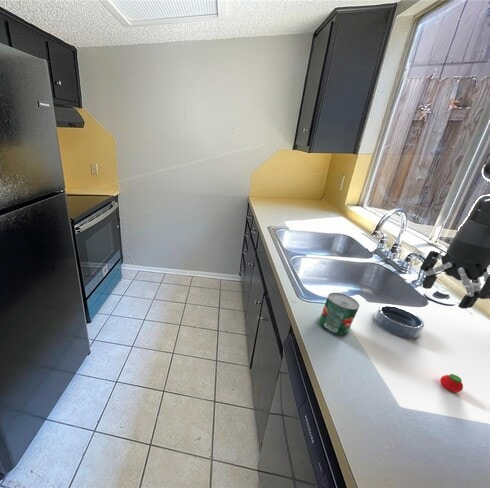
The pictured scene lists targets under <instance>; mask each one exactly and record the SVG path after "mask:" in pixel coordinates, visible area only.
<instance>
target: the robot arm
mask: <svg viewBox="0 0 490 488" xmlns="http://www.w3.org/2000/svg"><path fill="white" fill-rule="evenodd" d="M481 174H482V176H483V178H484V179H485V180H487V182H488V181H489V182H490V158H489V159H488V160H487V161H486V162H485V164H484V165H483V167H482V170H481ZM439 261H441V265H438V266H436V264H437V263H438V262H439ZM435 266H436V267H435ZM489 266H490V194H485V195H482V196H480V197H479V198H478V199H477V200H476V201H475V203H474V204H473V206H472V207H471V209H470V211H469V213H468V215H467V216H466V218H465V219H464V221H463V223H462V224H461V225H460V226H459V227H458V230H457V231H456V232H455V235H454V236H453V238H452V240H451V242H450V244H449V245H448V247H447V250H446V253H445V254H444V253H443V251H442V250H430V251H429V252H428V254H427V256H426V257H425V258H424V260H423V262H422V264H421V265H420V270H421V271H423V272H425V276H424V278H423V281H422V282H421V285H422V287H421V288H423V289H425V290H431V289H432V287H433V286H434V285H435V282H436V281H437V279H438V276H439V275H443V274H445V275H446V276H449V277H452V278H454V279H455V280H457V281H459V282H461V284H462V286H463V287H464V288H465V292H466V294H464V296H463V297H462V299H461V301H460V302H459V304H458V305H457V306H458V308H460V309H464V310H465V309H471V308H473V307H474V305H475V304H476V303H477V301H478V300H479V299H480V300H490V272H488V267H489ZM482 277H483V281H484V283H483V286H482V283H481V280H480V278H482ZM481 286H482V287H481Z"/></svg>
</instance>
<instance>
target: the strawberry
mask: <svg viewBox="0 0 490 488" xmlns="http://www.w3.org/2000/svg"><path fill="white" fill-rule="evenodd" d="M462 381H463V379H462V378H461V377H460V376H458V375H457V374H454V373H449V374H444V375H442V376H441V377H440V385H441V386H442V387H443V388H444V389H446V390H447V391H449V392H452V393H459V392H461V391H463V389H464V384H463V382H462Z"/></svg>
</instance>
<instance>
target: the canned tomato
mask: <svg viewBox="0 0 490 488" xmlns="http://www.w3.org/2000/svg"><path fill="white" fill-rule="evenodd" d="M359 308H360V303H359V302H358V301H357V299H355V298H353V297H352V296H350V295H348V294H344V293H341V292H330V293H328V295H327V297H326V301H325V303H324V306H323V309H322V311H321V314H320V316H319V319H318V325H319V326H320V327H321V329H323V330H324V331H325V332H327V333H330V334H332V335H333V336H338V337H341V336H342V337H343V336H346V335H347V334H348V332H349V330H350V329H351V326H352V324H353V322H354V319H355V318H356V315H357V312H358V311H359Z"/></svg>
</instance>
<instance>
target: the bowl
mask: <svg viewBox="0 0 490 488" xmlns="http://www.w3.org/2000/svg"><path fill="white" fill-rule="evenodd" d="M373 319H374V322H375V323H376V324H377V325H378V326H379V327H380V328H381V329H383V330H384V331H386V332H387V333H390V334H391V335H394V336H397V337H400V338H404V339H417V338H418V337H419V335H420V333H421V332H422V331H423V328H424V327H425V323H424V321H423V319H422V318H421V317H419V316H418V315H417V314H415V313H413V312H411V311H410V310H408V309H406V308H402V307H399V306H397V305H392V304H381V305H380V306H378V307H377V310H376V312H375V315H374V317H373ZM397 321H398V322H397Z"/></svg>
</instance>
